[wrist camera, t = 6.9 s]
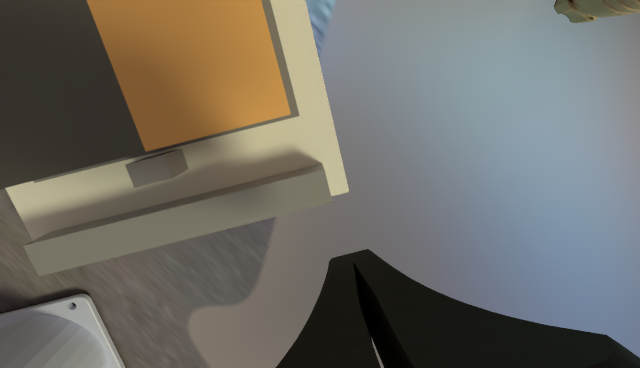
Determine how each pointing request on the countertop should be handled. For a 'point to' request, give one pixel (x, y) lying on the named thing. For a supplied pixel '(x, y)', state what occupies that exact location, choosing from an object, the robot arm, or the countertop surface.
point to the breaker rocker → (127, 79)
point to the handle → (595, 9)
